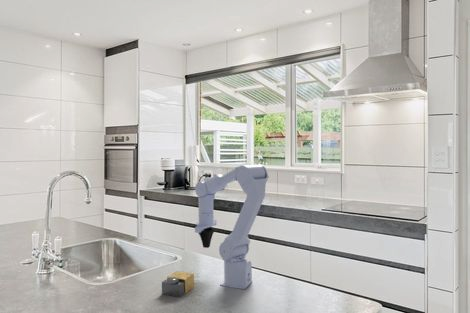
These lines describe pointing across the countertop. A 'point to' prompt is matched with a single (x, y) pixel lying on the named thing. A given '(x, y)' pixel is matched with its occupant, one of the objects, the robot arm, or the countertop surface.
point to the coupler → (173, 287)
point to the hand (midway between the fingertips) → (206, 247)
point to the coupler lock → (184, 280)
